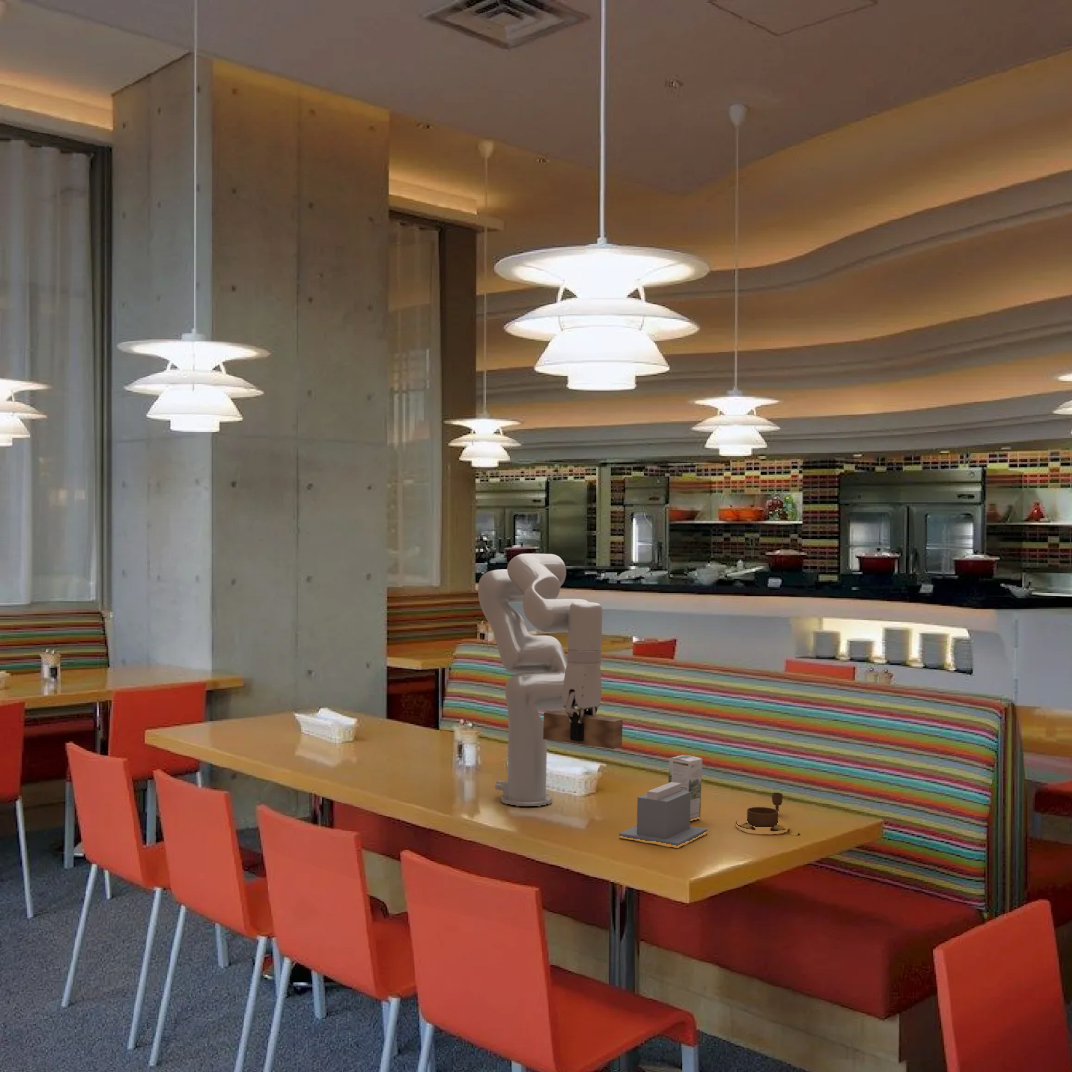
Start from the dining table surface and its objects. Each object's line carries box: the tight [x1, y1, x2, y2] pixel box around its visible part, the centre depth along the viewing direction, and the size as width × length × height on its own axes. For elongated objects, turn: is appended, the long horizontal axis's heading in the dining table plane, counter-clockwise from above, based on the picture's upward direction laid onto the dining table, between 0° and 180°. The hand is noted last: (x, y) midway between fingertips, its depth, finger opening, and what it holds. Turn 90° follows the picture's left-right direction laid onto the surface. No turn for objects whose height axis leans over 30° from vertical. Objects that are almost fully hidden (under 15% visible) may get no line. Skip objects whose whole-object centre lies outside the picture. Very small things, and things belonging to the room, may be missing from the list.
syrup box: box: [667, 754, 703, 820], centre depth 275 cm, size 6×6×14 cm
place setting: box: [735, 792, 783, 829], centre depth 270 cm, size 18×20×6 cm
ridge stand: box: [618, 782, 708, 846], centre depth 259 cm, size 14×15×11 cm
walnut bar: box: [543, 710, 624, 750], centre depth 264 cm, size 18×4×6 cm, turn 58°
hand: (582, 738), depth 264 cm, fingers closed on walnut bar, 4 cm apart
